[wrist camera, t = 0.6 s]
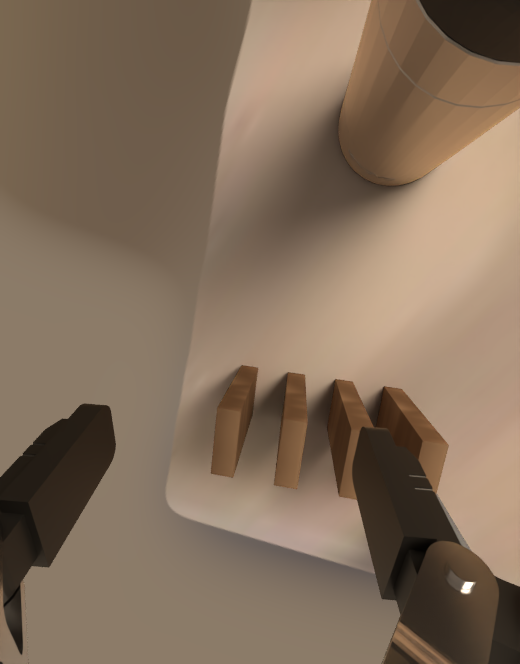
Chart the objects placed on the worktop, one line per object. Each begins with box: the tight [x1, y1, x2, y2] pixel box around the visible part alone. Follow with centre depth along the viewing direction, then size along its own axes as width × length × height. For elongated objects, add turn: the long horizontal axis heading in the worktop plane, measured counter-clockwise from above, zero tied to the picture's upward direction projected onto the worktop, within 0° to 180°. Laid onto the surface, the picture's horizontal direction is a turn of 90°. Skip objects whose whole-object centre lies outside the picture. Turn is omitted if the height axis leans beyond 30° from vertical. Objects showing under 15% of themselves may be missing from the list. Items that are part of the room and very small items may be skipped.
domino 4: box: [376, 387, 449, 494], centre depth 27 cm, size 2×5×10 cm, turn 173°
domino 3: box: [327, 379, 373, 500], centre depth 27 cm, size 2×5×10 cm, turn 173°
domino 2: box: [274, 372, 308, 489], centre depth 28 cm, size 2×5×10 cm, turn 173°
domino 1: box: [211, 365, 258, 477], centre depth 28 cm, size 2×5×10 cm, turn 174°
